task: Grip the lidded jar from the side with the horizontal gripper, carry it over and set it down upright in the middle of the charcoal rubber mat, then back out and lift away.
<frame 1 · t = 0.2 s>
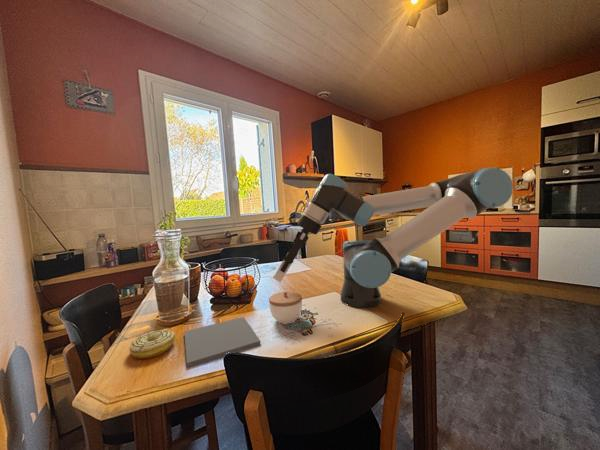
hand: (279, 274, 80), 15 cm above the table, tool tilted 35°, fingers open, 13 cm apart
decorated donut: (153, 350, 66), on the table
lidded jar: (286, 320, 79), on the table
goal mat: (220, 339, 69), on the table
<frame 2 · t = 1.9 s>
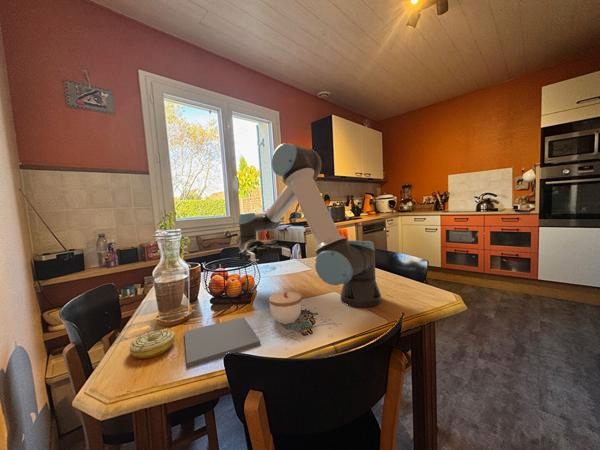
hand: (272, 255, 87), 20 cm above the table, tool horizontal, fingers open, 13 cm apart
nothing on the table moved.
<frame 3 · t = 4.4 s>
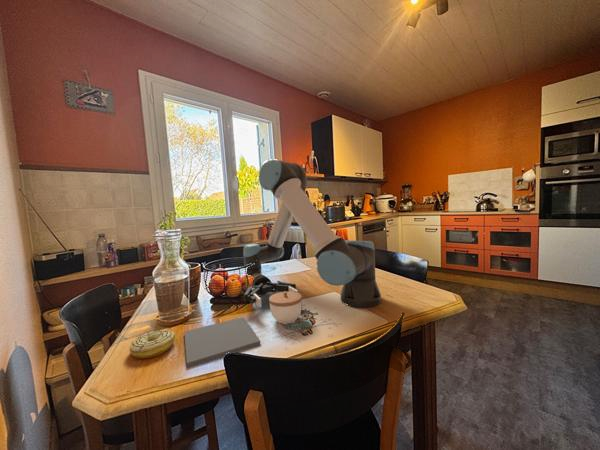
hand: (279, 298, 83), 6 cm above the table, tool horizontal, fingers open, 13 cm apart
nothing on the table moved.
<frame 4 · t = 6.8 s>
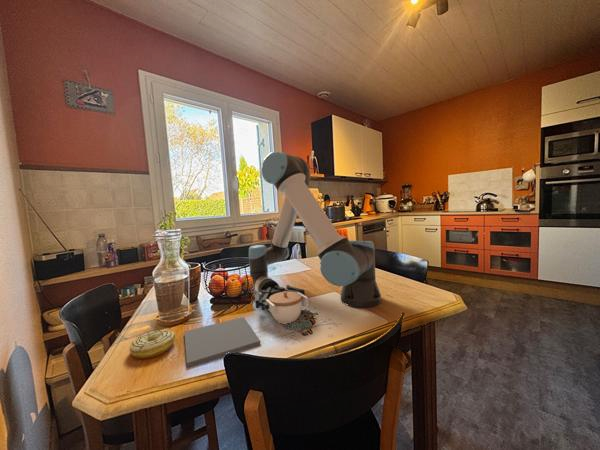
hand: (291, 305, 75), 6 cm above the table, tool horizontal, fingers closed on lidded jar, 11 cm apart
lidded jar: (286, 320, 79), on the table, touching gripper
everything else where it was.
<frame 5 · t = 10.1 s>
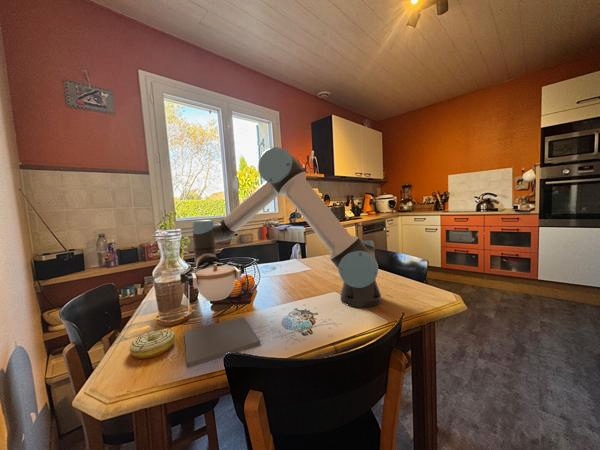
hand: (218, 279, 65), 18 cm above the table, tool horizontal, fingers closed on lidded jar, 11 cm apart
lidded jar: (217, 297, 69), point 12 cm above the table, touching gripper
everything else where it was.
when the fingers open (8 cm above the table, at t = 13.4 s): lidded jar drops 1 cm, resting on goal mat.
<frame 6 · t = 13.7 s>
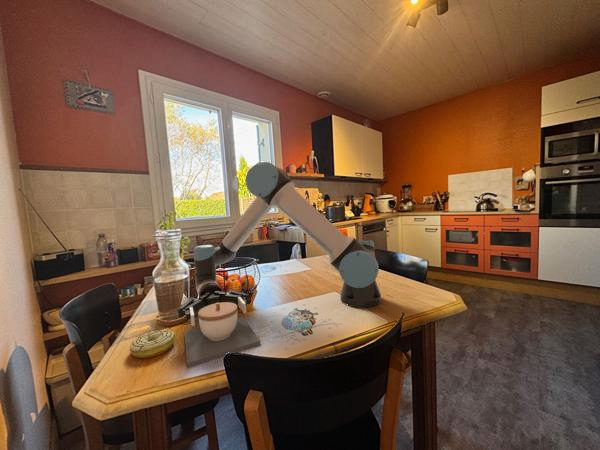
hand: (220, 314, 66), 8 cm above the table, tool horizontal, fingers open, 13 cm apart
lidded jar: (220, 336, 69), point 1 cm above the table, touching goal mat
everything else where it was.
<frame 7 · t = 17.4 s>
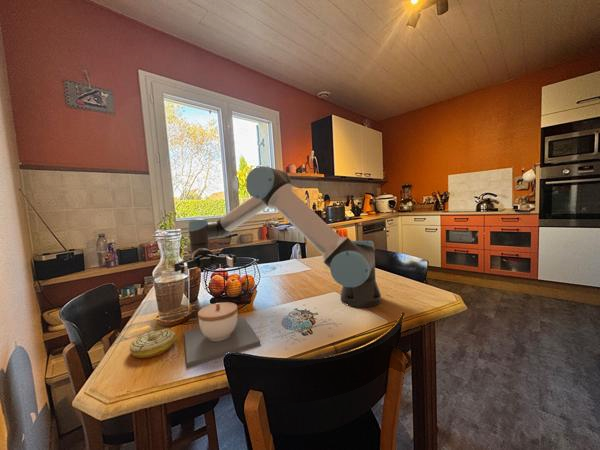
hand: (209, 266, 77), 19 cm above the table, tool horizontal, fingers open, 13 cm apart
nothing on the table moved.
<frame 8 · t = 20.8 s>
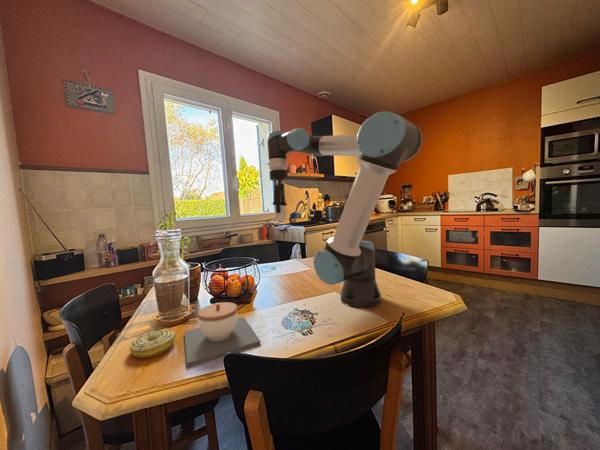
hand: (281, 220, 103), 32 cm above the table, tool pointing down, fingers open, 13 cm apart
nothing on the table moved.
at the end: lidded jar inside the target area on the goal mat (0.1 cm from its centre), point 0.8 cm above the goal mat's base; lidded jar tilted 0°; the gripper is holding nothing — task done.
